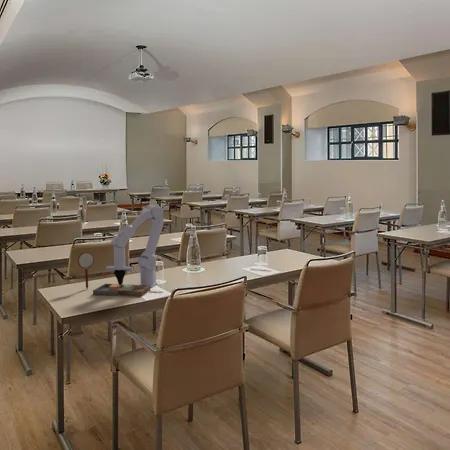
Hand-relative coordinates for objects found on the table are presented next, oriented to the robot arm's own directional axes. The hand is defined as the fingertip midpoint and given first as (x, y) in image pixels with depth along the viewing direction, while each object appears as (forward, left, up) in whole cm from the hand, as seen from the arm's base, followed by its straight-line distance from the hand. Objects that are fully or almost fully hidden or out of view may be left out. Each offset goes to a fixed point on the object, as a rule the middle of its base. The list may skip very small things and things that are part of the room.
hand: (120, 284), depth 256 cm
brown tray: (+3, +9, -3) cm, 10 cm away
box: (+3, -4, -3) cm, 6 cm away
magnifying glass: (+1, -19, -4) cm, 19 cm away
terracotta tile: (0, -3, -1) cm, 3 cm away
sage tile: (+6, +7, -1) cm, 9 cm away
